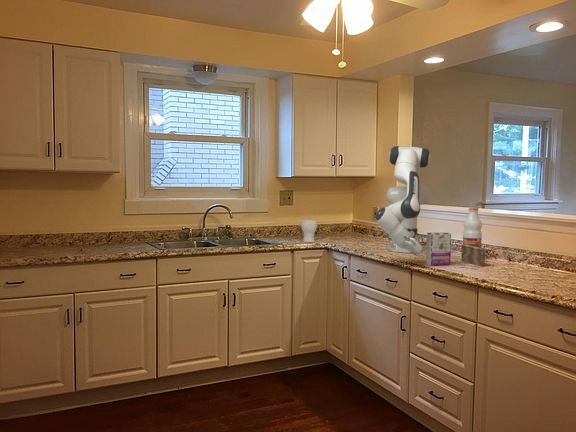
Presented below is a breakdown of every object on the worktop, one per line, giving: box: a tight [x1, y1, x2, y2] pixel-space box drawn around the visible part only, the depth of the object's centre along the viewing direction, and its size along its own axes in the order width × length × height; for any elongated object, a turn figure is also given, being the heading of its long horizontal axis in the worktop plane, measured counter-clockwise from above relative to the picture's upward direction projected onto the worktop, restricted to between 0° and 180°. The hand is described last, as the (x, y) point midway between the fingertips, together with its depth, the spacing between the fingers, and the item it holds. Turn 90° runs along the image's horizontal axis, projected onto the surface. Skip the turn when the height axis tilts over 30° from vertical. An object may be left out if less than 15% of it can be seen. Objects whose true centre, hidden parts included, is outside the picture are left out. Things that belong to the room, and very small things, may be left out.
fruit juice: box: [462, 207, 483, 248], centre depth 264 cm, size 9×9×28 cm
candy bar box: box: [426, 231, 452, 267], centre depth 244 cm, size 11×5×16 cm, turn 106°
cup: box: [300, 219, 318, 243], centre depth 331 cm, size 11×11×15 cm
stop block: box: [460, 243, 486, 268], centre depth 250 cm, size 18×2×9 cm, turn 13°
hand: (417, 254), depth 242 cm, fingers closed
